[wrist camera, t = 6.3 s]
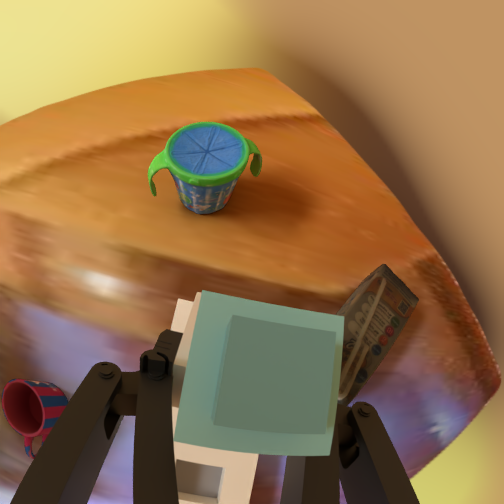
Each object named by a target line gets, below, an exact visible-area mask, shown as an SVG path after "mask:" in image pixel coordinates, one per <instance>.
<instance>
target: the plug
mask: <svg viewBox="0 0 504 504" xmlns="http://www.w3.org/2000/svg"><path fill="white" fill-rule="evenodd" d="M343 333H344V316H338V315H332V314H326V313H319V312H313V311H308V310H302V309H296V308H290V307H285V306H279V305H274V304H269V303H263V302H258V301H253V300H248V299H243V298H238V297H233V296H228V295H223V294H219V293H214V292H209V291H205V290H202V294H201V299H200V303H199V308H198V312H197V317H196V322H195V326H194V331H193V336H192V341H191V346H190V351H189V356H188V361H187V366H186V371H185V377H184V382H183V387H182V393H181V398H180V404H179V410H178V415H177V421H176V427H175V433H174V439H173V441H176V442H180V443H185V444H190V445H195V446H201V447H207V448H213V449H219V450H226V451H234V452H243V453H253V454H266V455H285V456H328V455H330V450H331V444H332V438H333V431H334V424H335V417H336V409H337V401H338V393H339V383H340V373H341V362H342V349H343Z"/></svg>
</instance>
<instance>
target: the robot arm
mask: <svg viewBox="0 0 504 504" xmlns="http://www.w3.org/2000/svg"><path fill="white" fill-rule="evenodd" d="M201 294H202V293H200V292H197V294H196V297H195V300H194V303H193V306H192V309H191V312H190V315H189V318H188V321H187V324H186V327H185V330H184V333H180V332H176V331H172V330H168V329H166V330H165V331H163V332H162V333H161V334H160V335H159V338H158V340H157V342H156V344H155V347H154V349H153V350H148V351H145V352H144V353H143V354H142V355H141V357H140V371H136V372H121V370H120V368H119V367H118V366H117V365H115V364H113V363H110V362H100V363H97V364H95V365H94V366H93V367H92V368H91V370H90V371H89V373H88V374H87V376H86V377H85V379H84V380H83V381H82V383H81V384H80V386H79V387H78V389H77V390H76V392H75V393H74V395H73V396H72V398H71V399H70V401H69V403H68V404H67V406H66V407H65V409H64V410H63V412H62V413H61V415H60V417H59V418H58V420H57V421H56V423H55V425H54V426H53V428H52V429H51V431H50V433H49V434H48V436H47V438H46V439H45V441H44V443H43V444H42V446H41V448H40V449H39V451H38V453H37V455H36V456H35V458H34V460H33V462H32V463H31V465H30V467H29V469H28V470H27V472H26V474H25V476H24V478H23V480H22V482H21V483H20V485H19V487H18V489H17V491H16V493H15V495H14V497H13V499H12V501H11V503H10V504H87V503H88V500H89V497H90V495H91V492H92V490H93V487H94V485H95V482H96V480H97V477H98V475H99V472H100V470H101V468H102V465H103V463H104V460H105V458H106V456H107V453H108V451H109V449H110V446H111V444H112V442H113V439H114V437H115V435H116V433H117V430H118V428H119V426H120V424H121V421H122V419H123V417H124V415H125V416H136V420H135V435H134V459H133V504H179V498H178V489H177V479H176V468H175V456H174V441H173V422H172V407H176V408H179V404H180V398H181V393H182V387H183V382H184V377H185V371H186V366H187V361H188V356H189V351H190V346H191V341H192V336H193V331H194V326H195V322H196V317H197V312H198V308H199V303H200V299H201ZM339 478H340V481H341V484H342V488H343V491H344V494H345V498H346V501H347V504H420V503H419V501H418V499H417V496H416V494H415V492H414V489H413V487H412V485H411V483H410V480H409V478H408V476H407V474H406V472H405V469H404V467H403V465H402V463H401V461H400V459H399V457H398V454H397V452H396V450H395V448H394V446H393V444H392V442H391V440H390V438H389V436H388V433H387V431H386V429H385V427H384V425H383V423H382V421H381V419H380V417H379V415H378V413H377V411H376V410H375V408H374V407H373V406H372V405H370V404H368V403H366V402H356V403H355V404H353V406H352V407H348V406H344V405H341V404H338V403H337V409H336V417H335V424H334V431H333V438H332V444H331V450H330V455H328V456H287V460H286V467H285V475H284V481H283V488H282V494H281V501H280V504H339V499H340V485H339Z"/></svg>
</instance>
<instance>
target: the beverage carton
mask: <svg viewBox="0 0 504 504" xmlns="http://www.w3.org/2000/svg"><path fill="white" fill-rule="evenodd" d="M418 301H419V299H418V298H417V297H416V296H415V295H414V294H413V293H412V292H411V291H410V289H409V288H408V287H407V286H406V285H405V284H404V283H403V282H402V281H401V280H400V279H399V278H398V277H397V276H396V275H395V274H394V273H393V272H392V270H391V269H390V268H389V267H388V266H387V265H386V264H382V265H381V266H379V267H378V268H377V269H376V270H375V271H373V272H372V273H371V274H370V275H369V276H367V277H366V278H365V279H364V280H363V282H362V283H361V284H360V285H359V286H358V288H357V289H356V290H355V291H354V293H353V294H352V295H351V296H350V297H349V299H348V300H347V301H346V302H345V304H344V305H343V306H342V308H341V309H340V310H339V311H338V312H337V314H336V315H338V316H344V333H343V349H342V362H341V373H340V383H339V393H338V401H337V403H338V404H341V405H344V406H348V404H349V403H350V402H351V401H352V400H353V399H354V398H355V396H356V395H357V394H358V392H359V391H360V390H361V388H362V387H363V386H364V385H365V384H366V382H367V381H368V379H369V378H370V377H371V375H372V374H373V373H374V371H375V370H376V368H377V367H378V366H379V364H380V363H381V361H382V360H383V358H384V357H385V356H386V354H387V353H388V351H389V350H390V348H391V347H392V345H393V344H394V342H395V340H396V339H397V337H398V336H399V334H400V332H401V331H402V329H403V327H404V326H405V324H406V322H407V321H408V319H409V317H410V315H411V314H412V312H413V310H414V308H415V306H416V304H417V302H418Z"/></svg>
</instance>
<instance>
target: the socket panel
mask: <svg viewBox="0 0 504 504" xmlns="http://www.w3.org/2000/svg"><path fill="white" fill-rule="evenodd" d="M193 303H194V302H191V301H187V300H183V299H178V302H177V306H176V310H175V314H174V318H173V322H172V326H171V330H172V331H176V332H180V333H184V330H185V327H186V324H187V321H188V318H189V315H190V312H191V309H192V306H193ZM178 410H179V408H176V407H172V422H173V439H174V433H175V427H176V421H177V415H178ZM174 456H175V468H176V479H177V489H178V498H179V504H249V500H250V496H251V491H252V486H253V481H254V476H255V471H256V466H257V461H258V456H259V454H253V453H243V452H234V451H226V450H219V449H213V448H207V447H201V446H195V445H190V444H185V443H180V442H176V441H174Z"/></svg>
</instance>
